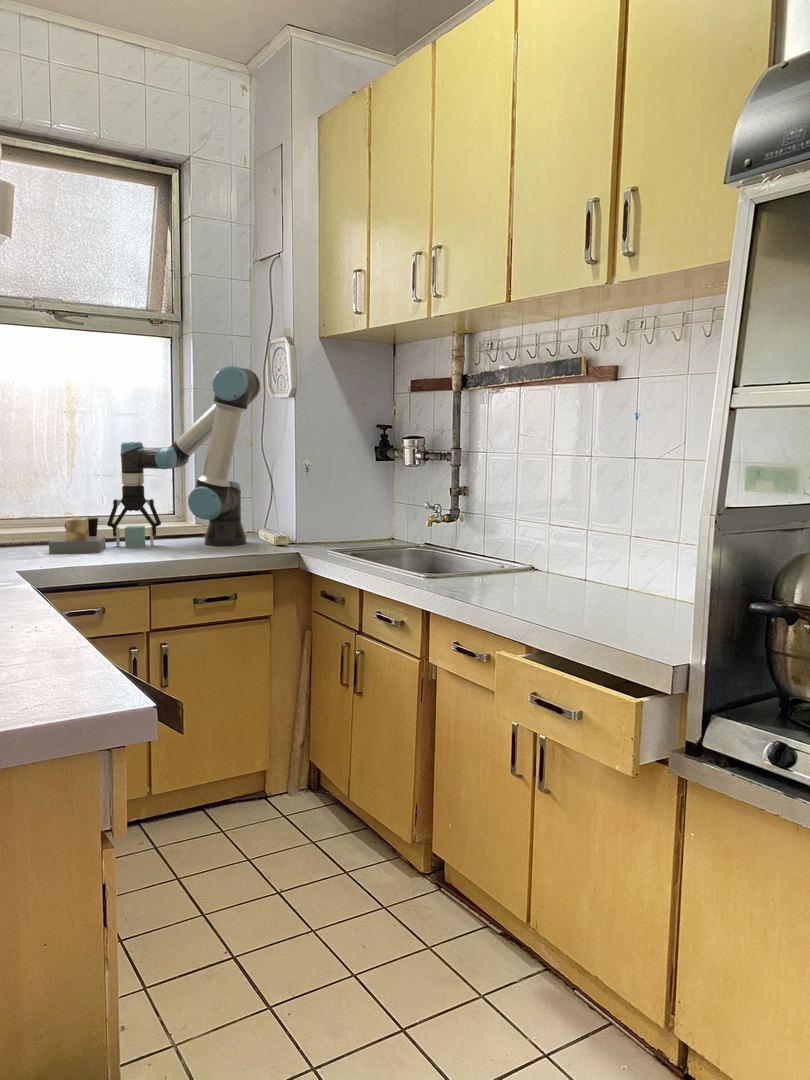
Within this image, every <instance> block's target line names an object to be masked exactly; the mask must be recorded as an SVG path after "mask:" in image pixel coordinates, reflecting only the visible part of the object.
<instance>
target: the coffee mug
mask: <svg viewBox="0 0 810 1080" xmlns="http://www.w3.org/2000/svg"><path fill="white" fill-rule="evenodd" d="M75 518H88V526H89V536H98V524H99V517H98V516H79V517H75ZM64 529H65V530H66V524H64Z"/></svg>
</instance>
